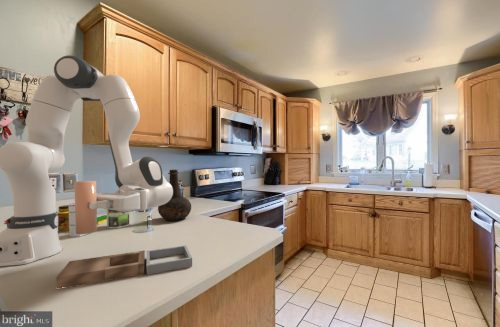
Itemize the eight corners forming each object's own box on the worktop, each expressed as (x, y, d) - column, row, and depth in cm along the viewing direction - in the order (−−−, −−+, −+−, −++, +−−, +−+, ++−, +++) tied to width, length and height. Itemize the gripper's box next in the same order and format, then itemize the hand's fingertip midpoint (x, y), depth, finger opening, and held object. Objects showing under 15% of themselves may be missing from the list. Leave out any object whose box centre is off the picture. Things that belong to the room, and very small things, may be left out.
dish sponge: (85, 225, 126) (85, 220, 126) (104, 219, 140) (104, 215, 140) (97, 225, 126) (97, 220, 126) (115, 219, 139) (115, 215, 139)
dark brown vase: (195, 215, 144) (194, 168, 144) (184, 223, 126) (183, 169, 126) (167, 215, 146) (166, 169, 146) (152, 222, 128) (151, 170, 128)
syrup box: (80, 237, 104) (79, 203, 104) (68, 236, 105) (68, 203, 105) (91, 233, 110) (90, 201, 110) (80, 232, 111) (80, 201, 111)
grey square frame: (146, 274, 67) (146, 265, 67) (147, 258, 79) (146, 250, 79) (192, 266, 72) (192, 258, 72) (186, 252, 84) (186, 245, 84)
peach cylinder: (71, 232, 66) (70, 182, 66) (91, 228, 70) (90, 180, 70) (81, 235, 64) (80, 182, 64) (100, 230, 68) (99, 181, 68)
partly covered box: (56, 289, 60) (56, 277, 60) (69, 271, 70) (69, 261, 70) (144, 273, 68) (143, 263, 68) (144, 259, 78) (144, 250, 78)
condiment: (54, 233, 110) (54, 207, 110) (60, 229, 118) (60, 204, 118) (73, 231, 113) (73, 206, 113) (78, 227, 121) (78, 203, 121)
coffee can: (133, 224, 124) (133, 197, 124) (113, 229, 115) (113, 200, 115) (122, 222, 129) (122, 196, 129) (102, 227, 120) (102, 199, 120)
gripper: (110, 187, 83) (64, 191, 71) (149, 189, 73) (103, 195, 61) (110, 205, 83) (64, 213, 71) (149, 210, 73) (103, 220, 61)
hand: (82, 205), depth 66 cm, fingers closed on peach cylinder, 5 cm apart
